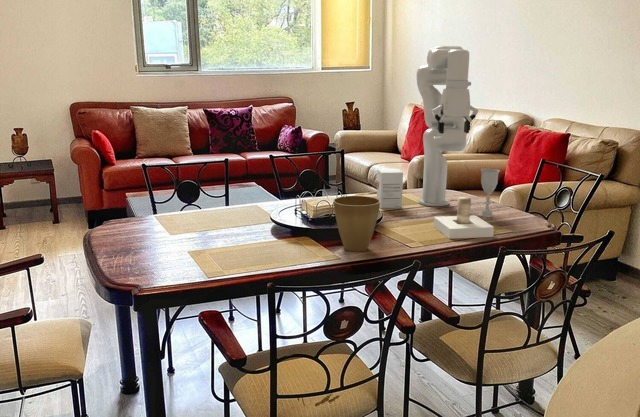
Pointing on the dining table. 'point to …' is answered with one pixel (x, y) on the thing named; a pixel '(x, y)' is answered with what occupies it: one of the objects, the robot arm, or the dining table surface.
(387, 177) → the supplement box
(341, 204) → the plant pot
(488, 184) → the chalice
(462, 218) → the peg
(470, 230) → the socket
